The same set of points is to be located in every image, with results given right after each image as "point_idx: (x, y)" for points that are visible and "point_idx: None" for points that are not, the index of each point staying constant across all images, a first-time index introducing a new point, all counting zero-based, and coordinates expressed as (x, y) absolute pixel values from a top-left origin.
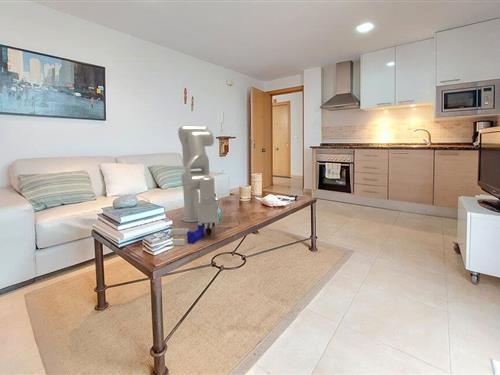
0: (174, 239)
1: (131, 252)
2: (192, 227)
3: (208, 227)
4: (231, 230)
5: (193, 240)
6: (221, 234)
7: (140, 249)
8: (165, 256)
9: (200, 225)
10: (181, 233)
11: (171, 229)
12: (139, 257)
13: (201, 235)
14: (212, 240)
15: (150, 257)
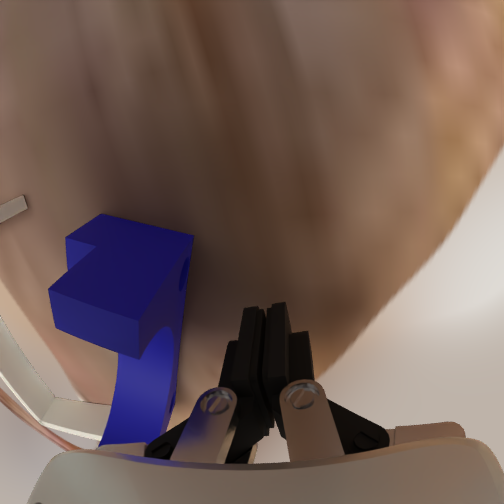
0: (74, 432)
1: (18, 416)
2: (7, 22)
3: (257, 387)
4: (487, 46)
5: (169, 414)
6: (408, 179)
7: (16, 404)
8: None
9: (83, 324)
10: None
11: None
12: None
13: (177, 316)
14: (322, 356)
15: None
